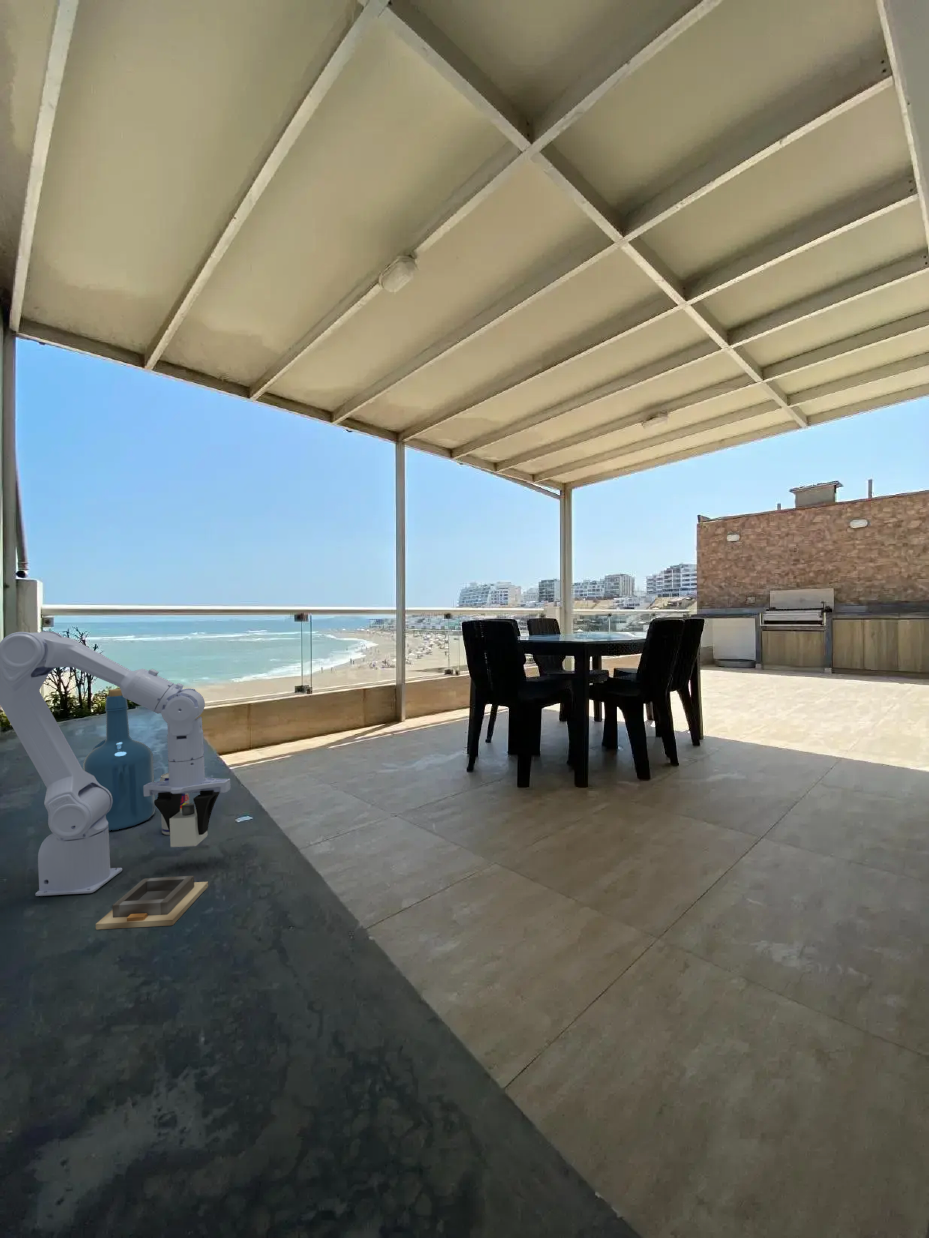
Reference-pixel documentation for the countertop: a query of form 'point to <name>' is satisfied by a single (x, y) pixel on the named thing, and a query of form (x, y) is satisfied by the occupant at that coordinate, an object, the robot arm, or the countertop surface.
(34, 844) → the countertop surface
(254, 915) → the countertop surface
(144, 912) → the socket
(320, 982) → the countertop surface
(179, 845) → the plug
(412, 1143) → the countertop surface
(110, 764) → the blue bottle
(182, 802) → the energy drink
